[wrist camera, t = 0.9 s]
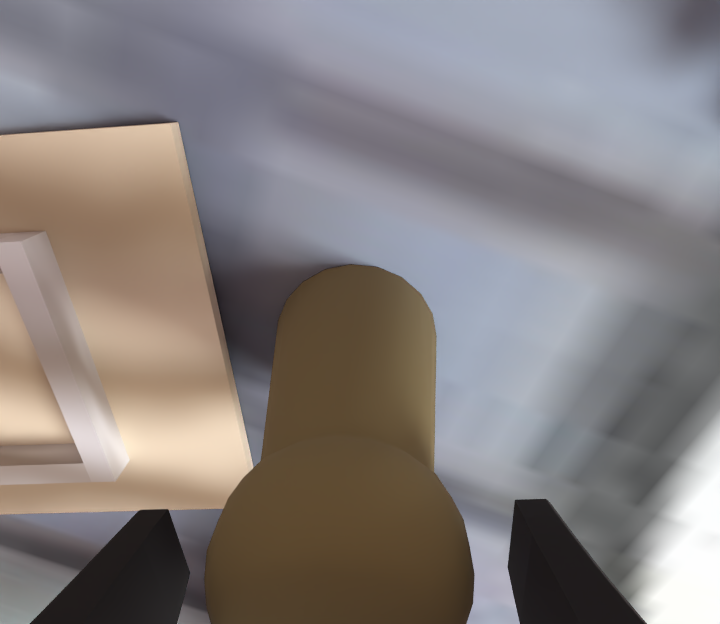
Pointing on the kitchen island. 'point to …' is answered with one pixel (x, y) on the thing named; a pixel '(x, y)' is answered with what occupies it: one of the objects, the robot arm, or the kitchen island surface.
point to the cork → (345, 472)
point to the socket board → (110, 330)
